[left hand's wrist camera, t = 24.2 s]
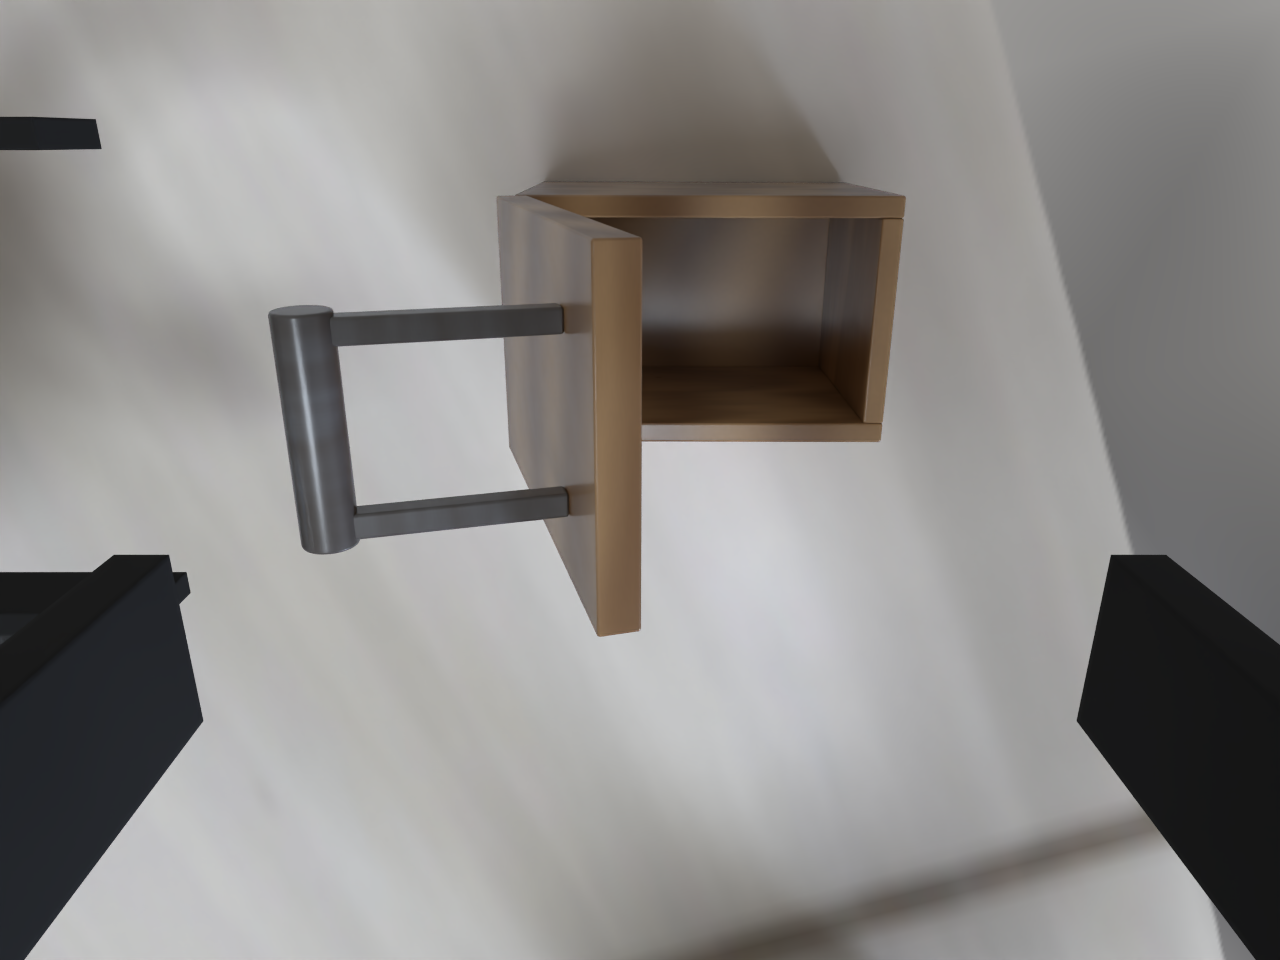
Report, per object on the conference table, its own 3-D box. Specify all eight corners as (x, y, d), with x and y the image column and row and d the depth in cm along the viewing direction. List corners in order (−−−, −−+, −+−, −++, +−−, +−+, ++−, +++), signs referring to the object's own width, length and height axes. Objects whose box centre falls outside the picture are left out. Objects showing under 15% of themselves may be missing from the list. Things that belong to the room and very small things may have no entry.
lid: (643, 237, 19) (235, 247, 17) (641, 632, 22) (302, 680, 20) (527, 195, 33) (293, 198, 31) (537, 445, 36) (327, 463, 34)
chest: (845, 182, 43) (906, 195, 33) (829, 378, 46) (881, 442, 37) (542, 181, 43) (514, 194, 33) (549, 377, 46) (525, 441, 37)
